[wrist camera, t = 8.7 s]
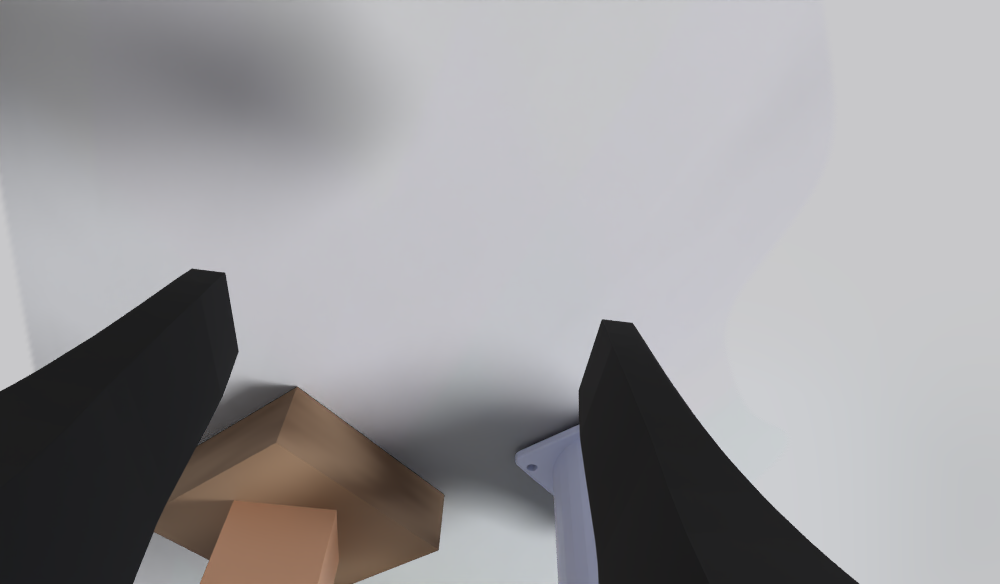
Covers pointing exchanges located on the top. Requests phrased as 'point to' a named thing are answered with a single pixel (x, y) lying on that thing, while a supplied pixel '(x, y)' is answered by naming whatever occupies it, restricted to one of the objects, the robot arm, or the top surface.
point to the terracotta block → (275, 546)
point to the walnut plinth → (307, 486)
